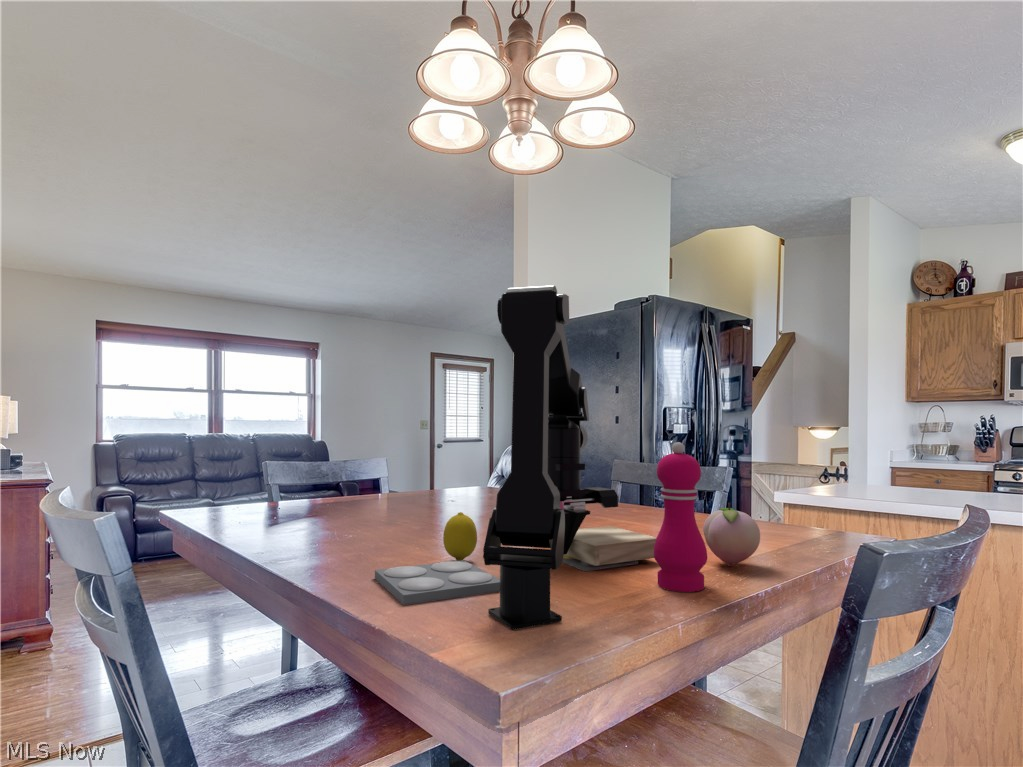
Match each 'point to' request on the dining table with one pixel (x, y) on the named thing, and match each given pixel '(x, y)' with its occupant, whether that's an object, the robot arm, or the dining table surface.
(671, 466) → the pepper mill
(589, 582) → the dining table surface
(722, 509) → the decorative fruit
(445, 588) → the board
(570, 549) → the cover
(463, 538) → the lemon
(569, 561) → the grey dotted plate
